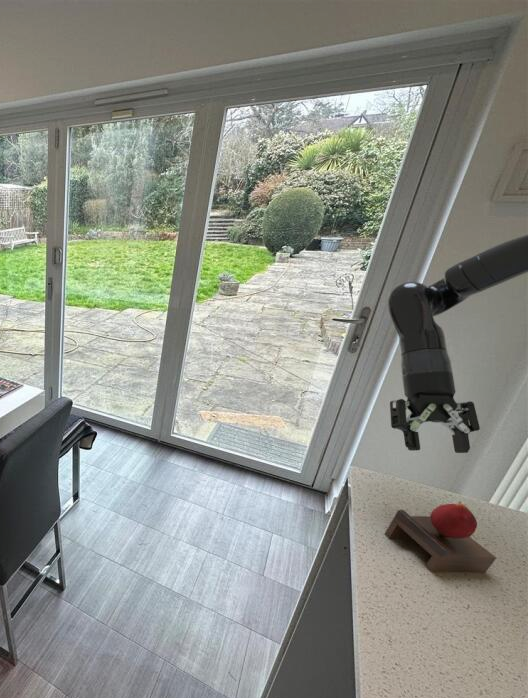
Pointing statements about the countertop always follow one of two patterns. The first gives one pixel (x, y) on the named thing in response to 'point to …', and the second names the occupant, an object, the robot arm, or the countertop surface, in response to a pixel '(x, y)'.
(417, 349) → the robot arm
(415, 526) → the shelf
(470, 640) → the countertop surface
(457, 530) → the red rounded lump
